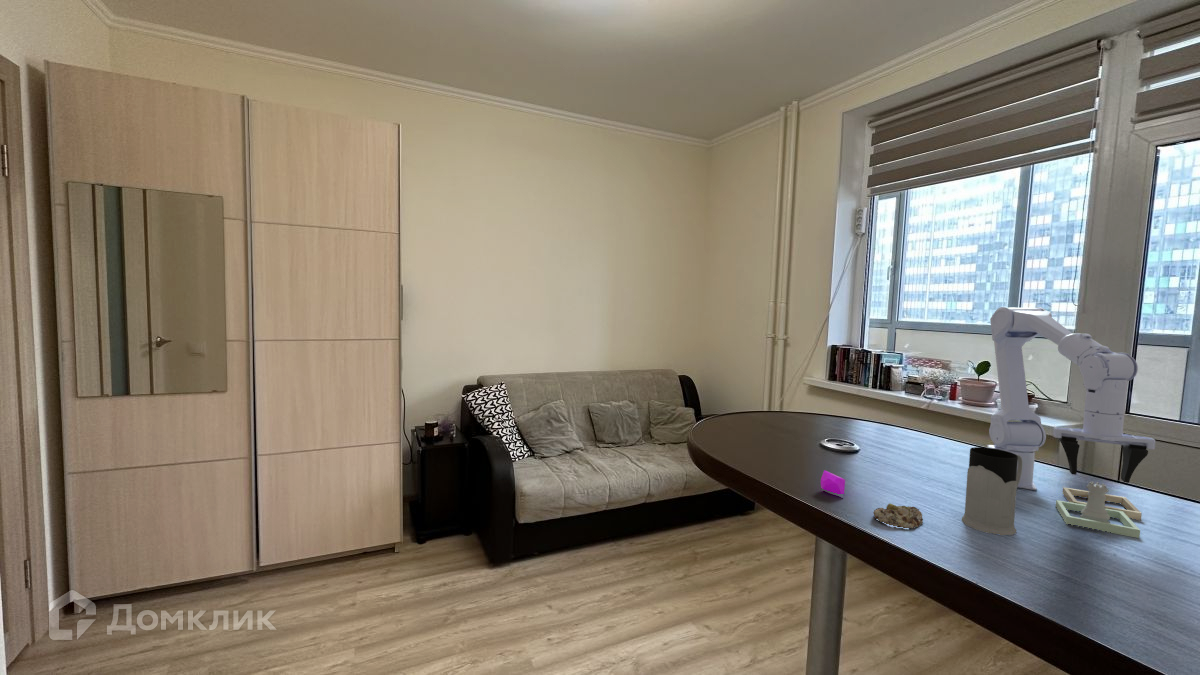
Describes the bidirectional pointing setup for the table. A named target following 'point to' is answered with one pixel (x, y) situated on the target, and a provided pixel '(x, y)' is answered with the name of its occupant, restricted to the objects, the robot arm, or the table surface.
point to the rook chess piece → (1096, 503)
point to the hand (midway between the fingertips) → (1098, 477)
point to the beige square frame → (1131, 509)
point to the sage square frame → (1126, 530)
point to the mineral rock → (899, 516)
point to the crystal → (832, 483)
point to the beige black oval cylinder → (992, 490)
